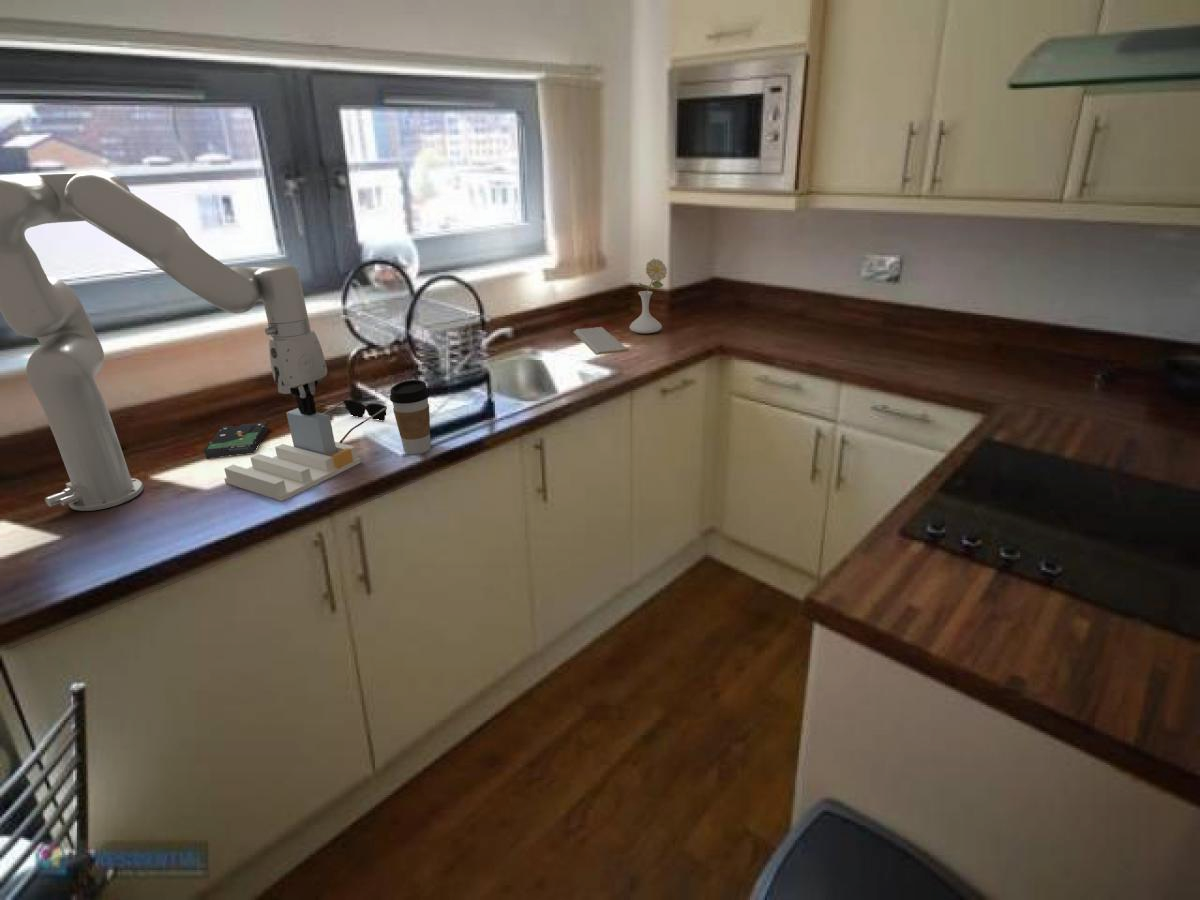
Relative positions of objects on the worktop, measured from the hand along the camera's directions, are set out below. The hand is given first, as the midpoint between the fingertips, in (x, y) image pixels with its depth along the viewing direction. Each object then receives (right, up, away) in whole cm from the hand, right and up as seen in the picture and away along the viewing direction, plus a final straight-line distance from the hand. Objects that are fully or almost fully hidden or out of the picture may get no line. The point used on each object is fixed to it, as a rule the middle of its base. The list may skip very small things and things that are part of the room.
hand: (308, 413), depth 150 cm
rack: (-3, -13, 0) cm, 13 cm away
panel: (0, -9, +4) cm, 10 cm away
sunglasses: (0, -3, +22) cm, 22 cm away
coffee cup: (+21, -8, +9) cm, 24 cm away
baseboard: (+61, +28, +89) cm, 111 cm away
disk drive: (-23, -7, +16) cm, 29 cm away
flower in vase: (+79, +34, +98) cm, 130 cm away
